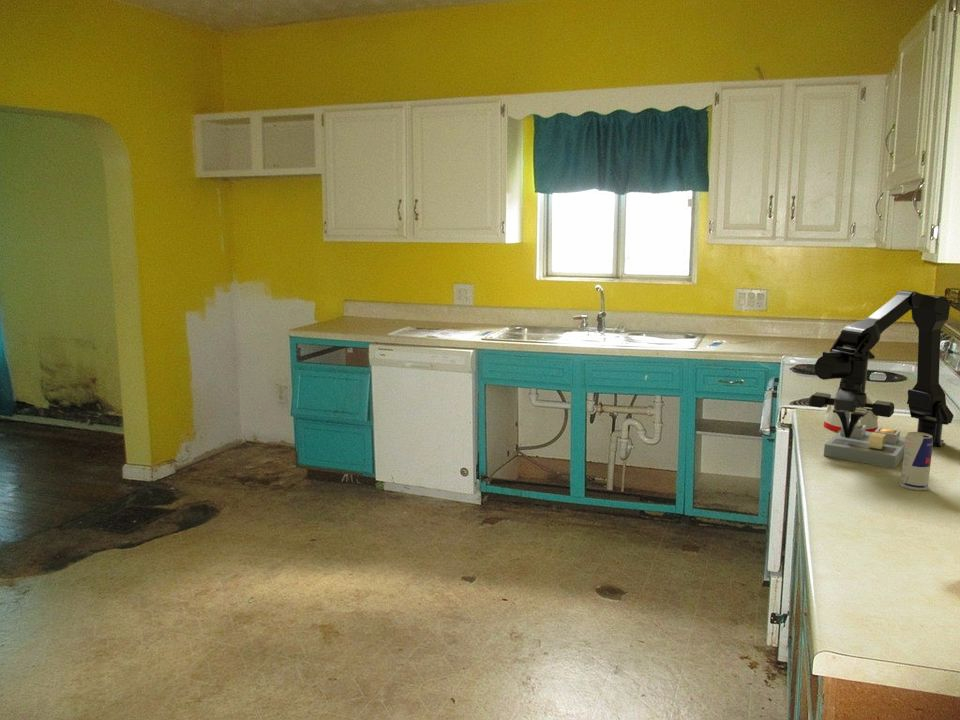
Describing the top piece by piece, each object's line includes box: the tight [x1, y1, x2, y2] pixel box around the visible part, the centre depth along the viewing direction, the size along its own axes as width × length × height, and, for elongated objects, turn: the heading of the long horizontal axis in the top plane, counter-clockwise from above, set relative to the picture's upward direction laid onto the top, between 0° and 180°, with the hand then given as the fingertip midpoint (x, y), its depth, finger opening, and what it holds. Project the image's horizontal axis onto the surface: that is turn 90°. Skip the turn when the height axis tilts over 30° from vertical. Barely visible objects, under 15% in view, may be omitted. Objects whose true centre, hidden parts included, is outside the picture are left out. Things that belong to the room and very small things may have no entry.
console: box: [823, 425, 906, 469], centre depth 200 cm, size 20×16×5 cm
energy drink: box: [900, 431, 934, 492], centre depth 174 cm, size 5×5×12 cm
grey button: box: [849, 419, 861, 429], centre depth 206 cm, size 3×3×2 cm
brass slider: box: [868, 432, 886, 449], centre depth 194 cm, size 4×3×3 cm
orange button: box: [880, 428, 895, 434], centre depth 201 cm, size 3×3×2 cm
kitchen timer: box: [823, 393, 879, 433], centre depth 223 cm, size 14×14×15 cm
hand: (847, 437), depth 198 cm, fingers closed
